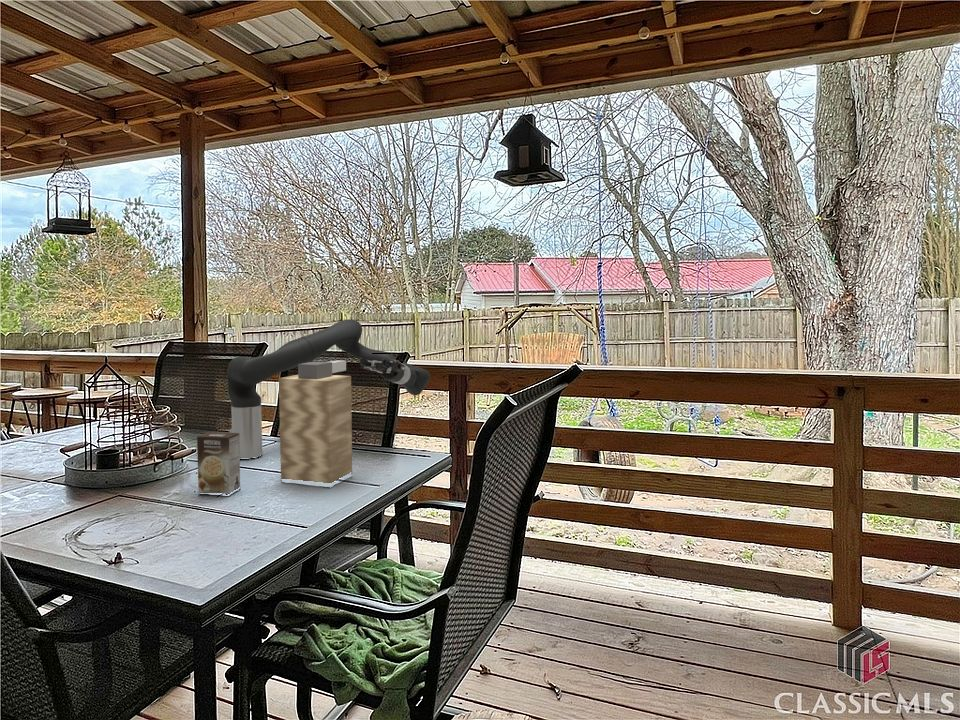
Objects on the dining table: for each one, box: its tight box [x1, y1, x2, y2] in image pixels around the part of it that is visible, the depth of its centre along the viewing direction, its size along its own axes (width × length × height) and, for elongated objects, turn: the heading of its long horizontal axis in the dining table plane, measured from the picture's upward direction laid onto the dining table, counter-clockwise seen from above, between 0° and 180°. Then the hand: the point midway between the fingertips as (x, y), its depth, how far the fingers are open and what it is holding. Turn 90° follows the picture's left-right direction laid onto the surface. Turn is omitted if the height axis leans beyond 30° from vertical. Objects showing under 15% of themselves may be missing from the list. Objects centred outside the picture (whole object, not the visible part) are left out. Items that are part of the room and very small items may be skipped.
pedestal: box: [278, 374, 353, 483], centre depth 175 cm, size 16×12×30 cm
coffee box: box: [196, 431, 241, 494], centre depth 163 cm, size 9×6×16 cm
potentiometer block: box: [297, 359, 347, 379], centre depth 178 cm, size 6×18×4 cm, turn 162°
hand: (371, 361), depth 199 cm, fingers open, 8 cm apart
